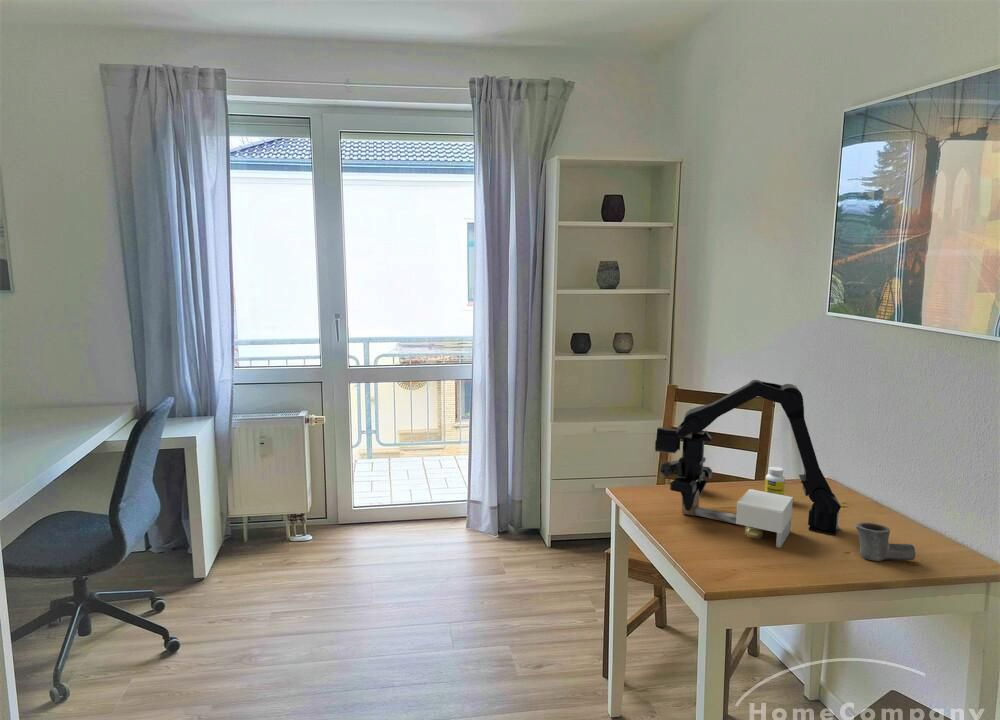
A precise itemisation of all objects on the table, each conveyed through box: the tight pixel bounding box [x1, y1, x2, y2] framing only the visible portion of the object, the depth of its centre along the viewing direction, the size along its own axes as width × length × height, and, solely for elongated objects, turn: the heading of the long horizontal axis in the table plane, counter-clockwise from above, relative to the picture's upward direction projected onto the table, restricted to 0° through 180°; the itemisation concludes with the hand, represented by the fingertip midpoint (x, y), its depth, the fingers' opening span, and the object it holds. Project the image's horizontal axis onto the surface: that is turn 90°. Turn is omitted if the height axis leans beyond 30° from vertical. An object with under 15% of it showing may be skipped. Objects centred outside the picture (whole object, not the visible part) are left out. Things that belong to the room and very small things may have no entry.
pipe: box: [855, 522, 916, 562], centre depth 158 cm, size 6×13×8 cm, turn 78°
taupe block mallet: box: [681, 491, 737, 525], centre depth 183 cm, size 16×4×6 cm, turn 56°
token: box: [744, 526, 764, 539], centre depth 172 cm, size 4×4×2 cm
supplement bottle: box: [764, 466, 786, 496], centre depth 198 cm, size 5×5×10 cm
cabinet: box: [735, 488, 794, 549], centre depth 172 cm, size 11×13×10 cm
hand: (690, 508), depth 186 cm, fingers closed on taupe block mallet, 4 cm apart
